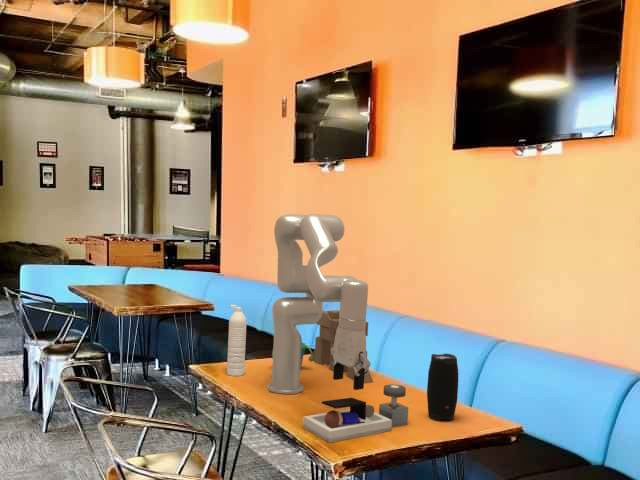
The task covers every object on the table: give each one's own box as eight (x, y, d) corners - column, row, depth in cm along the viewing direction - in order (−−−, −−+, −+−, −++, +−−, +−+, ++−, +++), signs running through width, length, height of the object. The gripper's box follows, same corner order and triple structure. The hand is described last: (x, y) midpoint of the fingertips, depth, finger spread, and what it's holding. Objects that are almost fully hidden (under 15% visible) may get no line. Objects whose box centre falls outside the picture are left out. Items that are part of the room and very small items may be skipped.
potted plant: (312, 367, 238) (313, 342, 238) (310, 374, 228) (311, 347, 227) (273, 365, 239) (274, 339, 239) (269, 371, 229) (270, 345, 228)
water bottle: (247, 375, 221) (250, 307, 221) (231, 377, 218) (234, 308, 217) (236, 369, 229) (239, 304, 228) (221, 371, 225) (223, 305, 224)
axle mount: (378, 420, 177) (379, 404, 176) (394, 418, 180) (394, 401, 180) (391, 427, 172) (392, 410, 171) (407, 424, 175) (408, 407, 175)
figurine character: (356, 422, 176) (317, 425, 166) (360, 395, 176) (321, 397, 166) (373, 428, 171) (334, 432, 161) (376, 401, 171) (337, 404, 161)
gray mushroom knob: (378, 409, 177) (379, 384, 176) (394, 406, 180) (396, 382, 180) (392, 415, 171) (393, 390, 171) (409, 412, 175) (410, 388, 175)
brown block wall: (303, 360, 250) (306, 306, 250) (320, 358, 255) (323, 305, 254) (359, 384, 217) (363, 322, 216) (378, 382, 221) (381, 320, 221)
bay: (302, 427, 168) (303, 416, 168) (362, 416, 180) (363, 406, 180) (329, 442, 157) (329, 431, 157) (391, 430, 169) (391, 420, 169)
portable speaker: (456, 423, 177) (459, 360, 177) (424, 420, 179) (428, 357, 179) (456, 415, 185) (459, 354, 185) (426, 411, 188) (429, 351, 187)
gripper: (323, 318, 173) (320, 377, 174) (360, 331, 159) (355, 395, 160) (344, 317, 177) (341, 374, 178) (382, 329, 163) (377, 391, 164)
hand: (347, 384), depth 169 cm, fingers open, 9 cm apart
